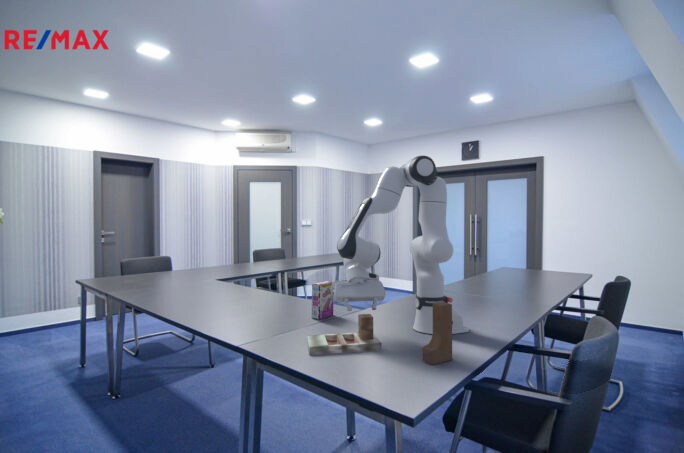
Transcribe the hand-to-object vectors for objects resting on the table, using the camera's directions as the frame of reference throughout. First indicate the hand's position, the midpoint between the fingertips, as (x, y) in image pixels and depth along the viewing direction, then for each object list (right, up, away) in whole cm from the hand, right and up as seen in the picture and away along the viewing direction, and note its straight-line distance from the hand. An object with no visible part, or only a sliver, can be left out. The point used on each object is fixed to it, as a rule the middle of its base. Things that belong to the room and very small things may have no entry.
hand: (362, 309), depth 129 cm
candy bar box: (-17, -12, +35) cm, 40 cm away
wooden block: (+23, -12, -20) cm, 32 cm away
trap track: (-7, -12, -6) cm, 15 cm away
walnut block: (+1, -9, -4) cm, 10 cm away
